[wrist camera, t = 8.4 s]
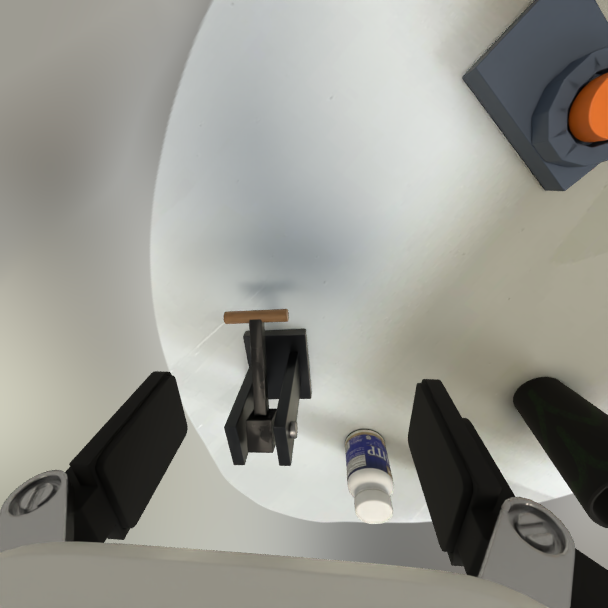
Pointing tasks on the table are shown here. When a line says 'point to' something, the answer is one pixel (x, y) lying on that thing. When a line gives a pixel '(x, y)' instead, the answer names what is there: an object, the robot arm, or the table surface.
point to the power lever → (259, 377)
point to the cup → (570, 439)
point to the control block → (545, 86)
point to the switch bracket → (273, 393)
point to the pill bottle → (369, 476)
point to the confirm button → (591, 111)
